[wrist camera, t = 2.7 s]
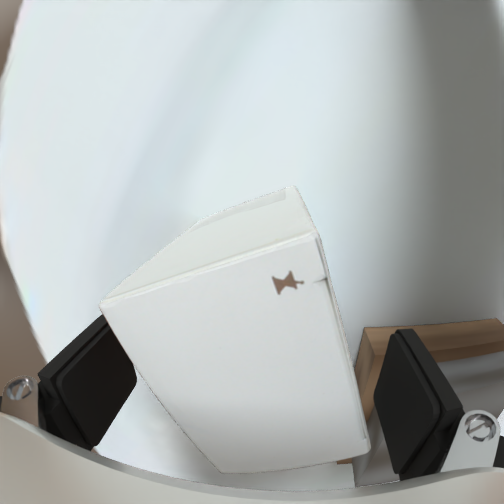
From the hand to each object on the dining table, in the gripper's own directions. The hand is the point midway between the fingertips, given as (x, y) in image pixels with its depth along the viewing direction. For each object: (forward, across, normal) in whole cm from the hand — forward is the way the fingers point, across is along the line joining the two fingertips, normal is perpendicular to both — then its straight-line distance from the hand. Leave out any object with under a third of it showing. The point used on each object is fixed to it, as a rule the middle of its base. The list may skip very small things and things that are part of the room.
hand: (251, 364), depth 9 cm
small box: (+8, 0, -1) cm, 8 cm away
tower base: (+8, -12, +9) cm, 17 cm away
